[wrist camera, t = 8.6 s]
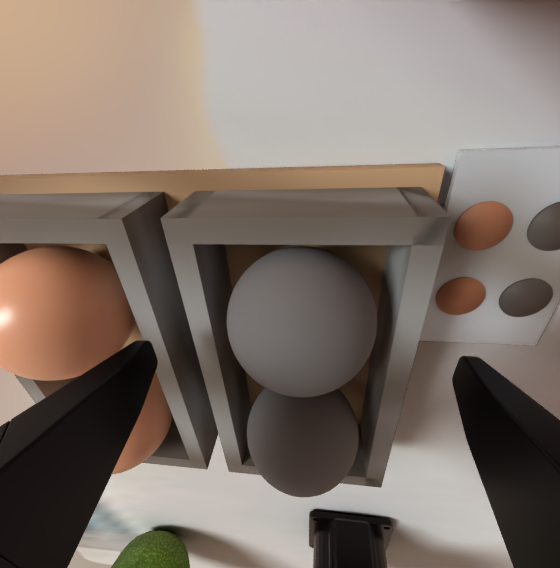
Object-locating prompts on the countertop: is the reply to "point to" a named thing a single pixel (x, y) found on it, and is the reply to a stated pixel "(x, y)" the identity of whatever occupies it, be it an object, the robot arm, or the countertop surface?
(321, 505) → the countertop surface
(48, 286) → the terracotta ball
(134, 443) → the terracotta ball
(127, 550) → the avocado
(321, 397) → the resting charcoal ball
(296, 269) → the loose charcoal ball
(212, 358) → the grey sorting tray
